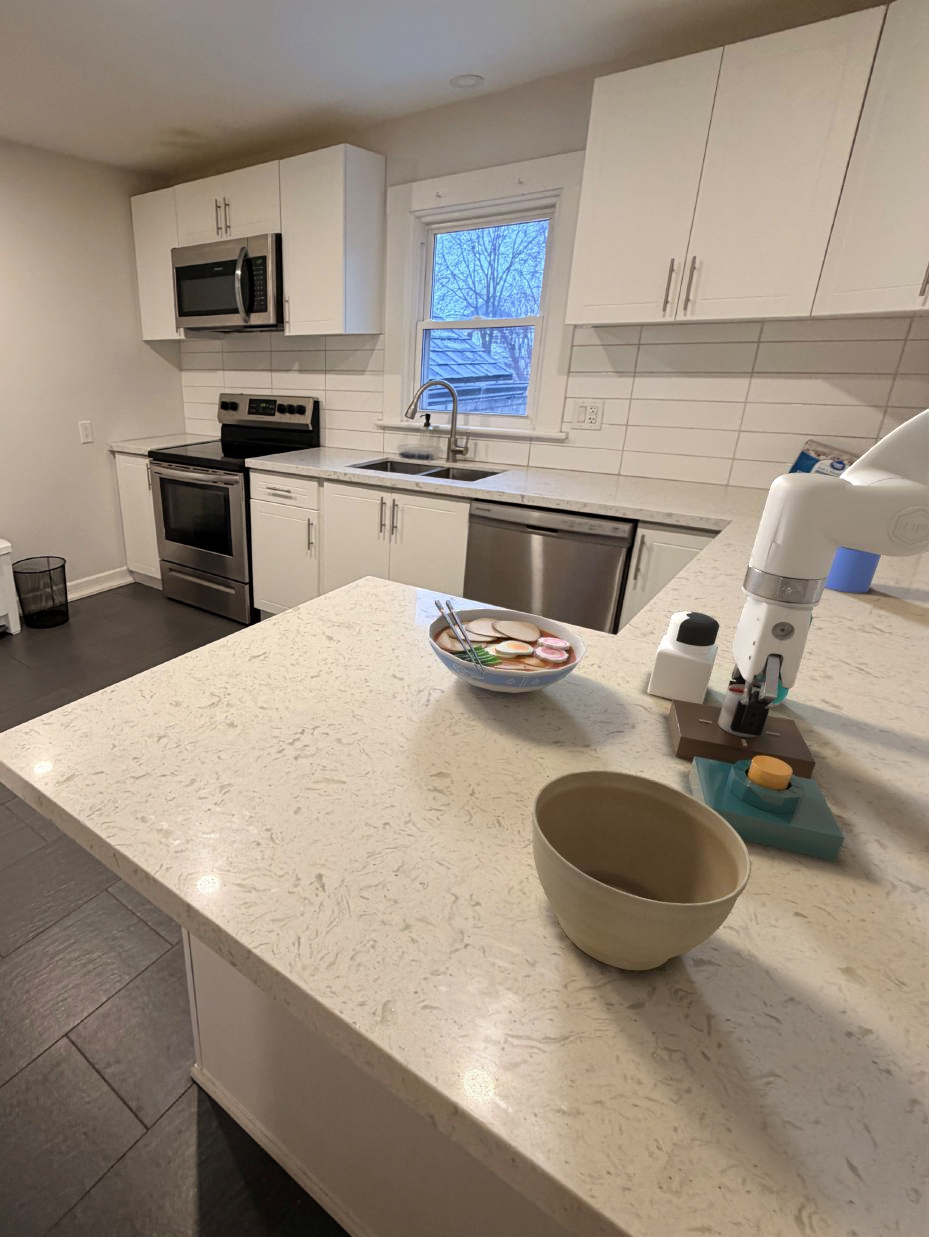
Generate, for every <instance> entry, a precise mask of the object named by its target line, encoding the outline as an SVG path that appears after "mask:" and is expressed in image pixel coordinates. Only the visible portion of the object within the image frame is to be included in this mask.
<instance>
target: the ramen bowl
mask: <svg viewBox="0 0 929 1237" xmlns="http://www.w3.org/2000/svg"><path fill="white" fill-rule="evenodd" d="M434 605H435V607H436V608H437V609H438V611H439V612H440V614H439V615H438V616H437V617H436V618H435V619H433V620H432V621H431V622H430V623H428V624H427V632H426V637H427V640H428V642H429V645H430V646H431V649H432V650H433V652H434V653H435V655H436V656H437V657H438V658H439V660H440V661H441V663H442V664H444V666H445V667H446V668H447V669H448V670H449V671H450V673H451V674H453V675H455V677H458V678H459V679H461V680H463V681H465V682H467V683H468V684H470V685H472V686H475V687H478V688H482V689H485V690H489V691H492V692H501V693H509V694H510V693H511V694H519V693H526V692H534V691H538V690H541V689H544V688H547V687H549V686H552V685H554V684H556V683H558V682H560V681H561V680H563V679H565V678H566V677H567V676H568V675H569V674H570V673H571V672H573V671H574V670H575V668H576V667H577V666H578V665H579V663H580V662H581V661H582V659H583V657H584V656H585V654H586V652H587V650H588V649H587V647H586V645H585V643H584V640H583V638H582V637H581V636H580V635H578V633H576V632H574V631H573V630H572V629H570V628H569V627H567V626H566V625H564V624H562V623H559V622H556V621H554V620H551V619H549V618H546V617H544V616H541V615H537V614H532V613H527V612H522V611H518V610H514V609H504V608H503V609H501V608H490V607H489V608H488V607H482V608H481V607H480V608H467V609H458V610H455V608H454V607H453V603H451V600H448V599H447V600H445V606H446V608H447V609H448V611H449V612H447V611H446V610H445V608H444V607H443V605H442V602H440V600H439V599H438V600H437V599H435V600H434Z"/></svg>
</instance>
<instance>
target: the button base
mask: <svg viewBox="0 0 929 1237" xmlns="http://www.w3.org/2000/svg"><path fill="white" fill-rule="evenodd" d="M751 762H752V760H743V761H738V762H736V763H735V764H731V763H726V762H721V761H716V760H711V759H706V758H701V757H696V756H694V759H693V760H692V763H691V766H690V770H689V773H688V776H687V777H688V782H689V786H690V791H691V796H693V797H694V798H696V799H698V800H699V801H701V802H703V803H704V804H706V805H707V806H709V807H710V808H711V809H713V810H714V811H716V812H717V813H718V814H719V815H720V816H722V817H723V818H724V819H725V820H726V821H727V822H728V823H729V824H730V825H731V826H732V827H733V828H734V829H735V831H736V832H737V833H738V834H739V836H740V837H741V839H742V840H743V841H747V842H751V843H756V844H760V845H764V846H769V847H772V848H778V849H781V850H786V851H790V852H795V853H799V854H802V855H803V854H804V855H806V856H807V855H808V856H812V857H817V858H820V859H825V860H829V861H833V862H835V861H836V860H837V857H838V854H839V853H840V851H841V848H842V845H843V843H844V840H845V835H844V834H843V832H842V830H841V828H840V826H839V824H838V822H837V820H836V818H835V816H834V813H833V812H832V811H831V808H830V806H829V804H828V802H827V801H826V799H825V796H824V794H823V792H822V790H821V788H820V786H819V784H818V783H817V780H815V779H812V778H810V779H807V778H802V777H796V776H795V775H793V774H792V776H791V778H790V781H789V784H788V787H787V789H786V790H779V791H778V790H773V789H768V788H765V787H763V786H761V785H758V784H756V783H754V782H753V781H752V780H750V779H749V778H748V771H749V768H750V765H751Z"/></svg>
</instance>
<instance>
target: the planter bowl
mask: <svg viewBox="0 0 929 1237" xmlns="http://www.w3.org/2000/svg"><path fill="white" fill-rule="evenodd" d="M531 819H532V820H531V821H532V837H531V839H532V853H533V860H534V864H535V865H534V866H535V869H536V872H537V873H536V874H537V876H538V880H539V882H540V884H541V887H542V889H543V891H544V894H545V897H546V898H547V900H548V902H549V903H550V905H551V907H552V909H553V910H554V912H555V913H556V917H557V921H558V922H559V925H560V927H561V929H562V930H563V932H564V933H565V935H566V936H567V937H568V938H569V940H570V941H571V942H572V943H573V944H574V945H575V946H576V947H577V948H579V950H581V951H582V952H584V953H585V954H587V955H588V956H590V957H591V958H593V959H595V960H597V961H598V962H601V963H603V964H605V965H608V966H611V967H613V968H617V969H622V970H629V971H647V970H648V971H649V970H652V969H655V968H658V967H660V966H662V965H663V964H665V963H666V962H667V961H668V960H669V959H672V958H675V957H678V956H680V955H683V954H685V953H687V952H689V951H691V950H693V949H694V948H697V947H698V946H700V945H701V944H702V943H704V942H705V941H706V940H708V939H709V938H710V937H711V936H712V935H714V933H716V932H717V931H718V930H719V929H720V928H721V926H722V925H723V924H724V923H725V921H726V920H727V918H728V917H729V915H730V914H731V912H732V910H733V908H734V906H735V904H736V903H737V900H738V898H739V897H740V896H741V894H742V893H743V892H744V890H745V888H746V887H747V885H748V883H749V880H750V877H751V872H752V860H751V855H750V853H749V850H748V848H747V846H746V844H745V842H744V840H742V839H741V837H740V836H739V834H738V833H737V832H736V831H735V829H734V828H733V827H732V826H731V825H730V824H729V823H728V822H727V821H726V820H725V819H724V818H723V817H722V816H720V815H719V814H718V813H717V812H716V811H714V810H713V809H711V808H710V807H709V806H707V805H706V804H704V803H703V802H701V801H699V800H698V799H696V798H694V797H693V796H692V794H689V793H687V792H685V791H682V790H680V789H678V788H677V787H673V786H671V785H670V784H666V783H664V782H661V781H659V780H656V779H653V778H650V777H646V776H643V775H639V774H635V773H629V772H624V771H618V770H609V769H586V770H585V769H584V770H575V771H571V772H568V773H564V774H561V775H559V776H555V777H554V778H552V779H551V780H548V782H546V783H545V784H543V786H542V787H541V788H540V789H539V790H538V791H537V793H536V796H535V797H534V800H533V803H532V811H531Z"/></svg>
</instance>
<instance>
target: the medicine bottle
mask: <svg viewBox="0 0 929 1237" xmlns="http://www.w3.org/2000/svg"><path fill="white" fill-rule="evenodd" d="M719 629H720V624H719V621H717V620H716V619H715V618H714V617H711V616H710V615H708V614H705V613H702V612H698V611H697V612H696V611H689V610H688V611H679V612H675V613H674V614H672V616H671V617H670V621H669V625H668V628H667V633H666V634H665V635H663V637H662V639H661V641H660V644H659V645H658V648H657V650H656V654H655V656H654V657H655V659H654V663H653V665H652V671H651V675H650V678H649V683H648V686H647V694H649V695H652V696H656V697H660V698H665V699H668V700H671V701H672V700H673V699H675V700H681V701H686V702H692V703H698V704H704V701H705V697H706V694H707V691H708V686H709V683H710V679H711V676H712V672H713V669H714V665H715V662H716V658H717V654H718V650H719V647H718V645H716V640H717V637H718V634H719Z"/></svg>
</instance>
